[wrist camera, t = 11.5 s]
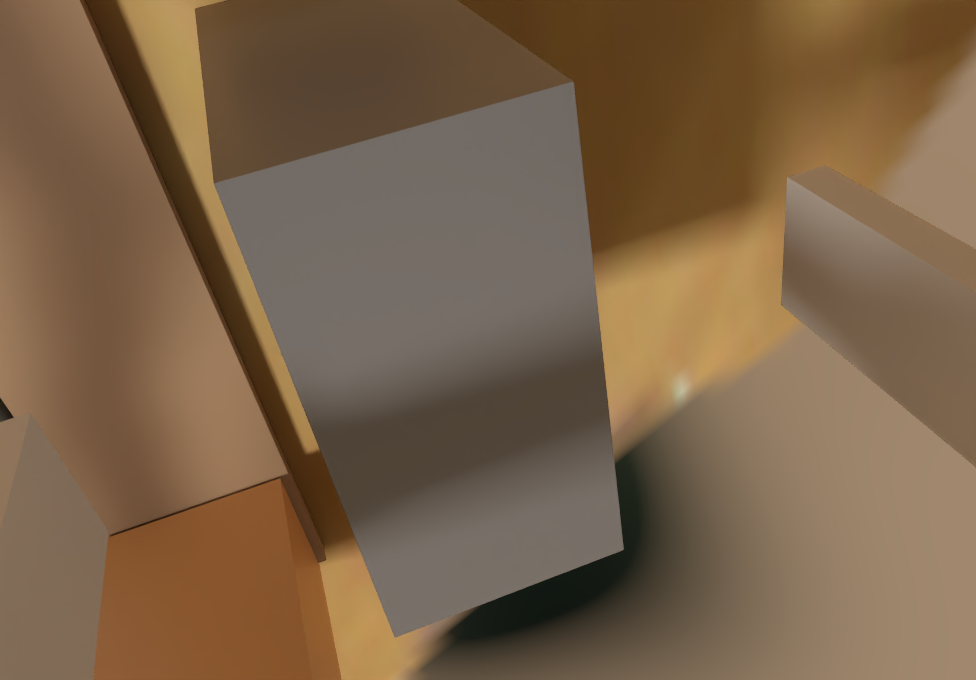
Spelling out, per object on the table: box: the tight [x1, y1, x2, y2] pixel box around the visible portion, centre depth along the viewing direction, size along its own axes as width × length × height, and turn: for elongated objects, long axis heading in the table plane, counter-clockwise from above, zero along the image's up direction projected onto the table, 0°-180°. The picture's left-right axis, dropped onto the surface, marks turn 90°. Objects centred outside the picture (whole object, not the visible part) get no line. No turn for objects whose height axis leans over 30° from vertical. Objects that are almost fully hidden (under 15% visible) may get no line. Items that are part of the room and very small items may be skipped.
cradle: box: [0, 0, 326, 563], centre depth 19 cm, size 12×23×3 cm, turn 10°
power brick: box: [195, 0, 623, 637], centre depth 16 cm, size 5×9×10 cm, turn 10°
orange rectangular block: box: [93, 478, 341, 680], centre depth 21 cm, size 5×4×8 cm
